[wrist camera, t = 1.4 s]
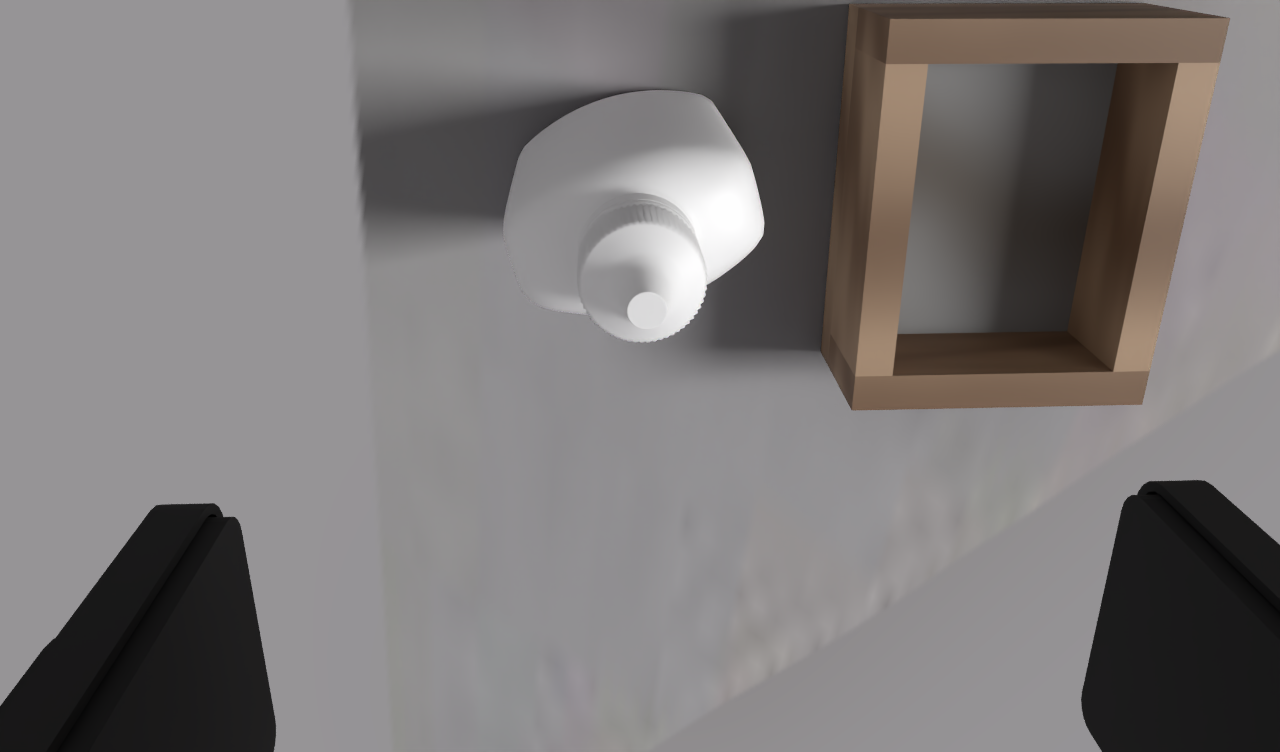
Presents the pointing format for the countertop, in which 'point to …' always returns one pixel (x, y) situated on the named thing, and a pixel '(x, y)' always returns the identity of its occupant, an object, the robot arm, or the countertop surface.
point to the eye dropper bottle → (631, 211)
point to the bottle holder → (1011, 199)
